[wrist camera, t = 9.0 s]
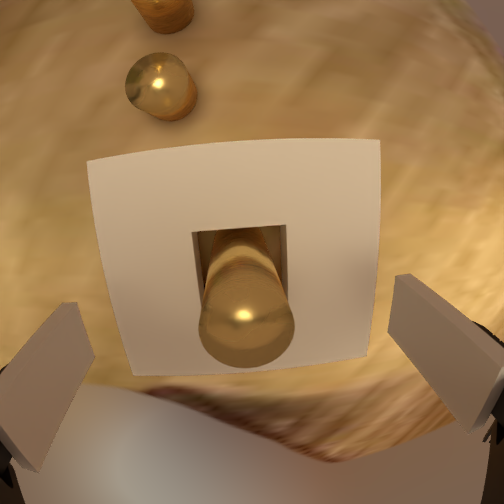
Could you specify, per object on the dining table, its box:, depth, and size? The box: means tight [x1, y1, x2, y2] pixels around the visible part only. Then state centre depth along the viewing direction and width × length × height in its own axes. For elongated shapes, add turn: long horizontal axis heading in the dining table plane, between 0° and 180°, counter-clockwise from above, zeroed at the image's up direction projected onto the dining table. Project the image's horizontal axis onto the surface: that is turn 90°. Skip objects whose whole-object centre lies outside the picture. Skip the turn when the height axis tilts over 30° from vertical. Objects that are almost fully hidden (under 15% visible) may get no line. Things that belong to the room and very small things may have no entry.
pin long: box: [198, 227, 295, 368], centre depth 17 cm, size 4×4×12 cm
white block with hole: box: [87, 138, 381, 376], centre depth 20 cm, size 16×14×6 cm
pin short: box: [125, 53, 197, 121], centre depth 17 cm, size 4×4×5 cm
